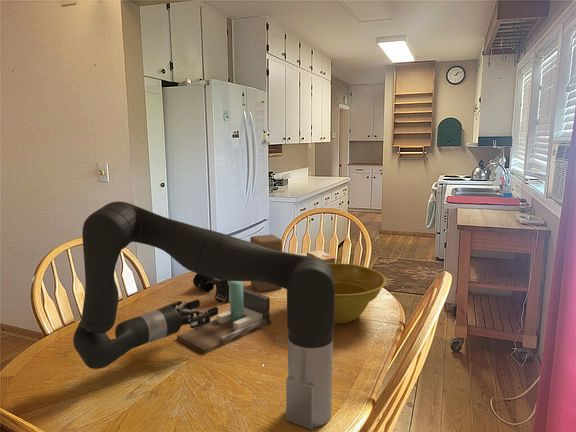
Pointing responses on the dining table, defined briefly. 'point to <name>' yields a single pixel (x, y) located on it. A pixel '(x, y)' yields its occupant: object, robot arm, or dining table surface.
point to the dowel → (236, 301)
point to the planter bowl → (354, 290)
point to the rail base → (228, 326)
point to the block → (270, 243)
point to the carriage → (248, 319)
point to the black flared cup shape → (203, 282)
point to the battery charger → (222, 290)
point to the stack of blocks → (320, 256)
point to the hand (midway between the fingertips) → (207, 306)
